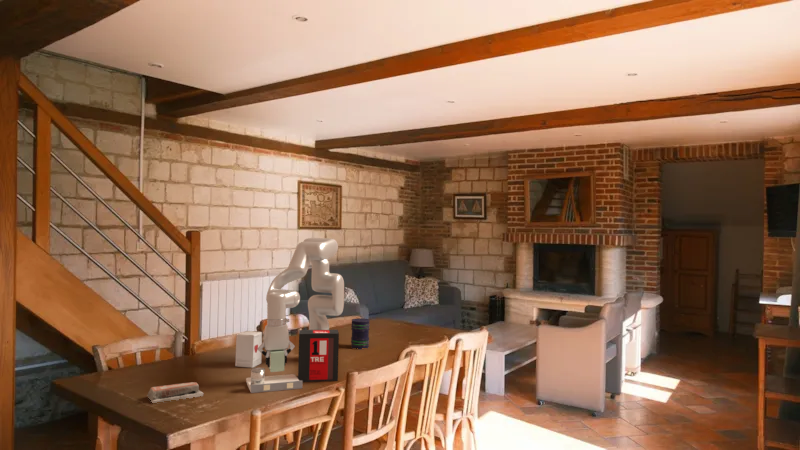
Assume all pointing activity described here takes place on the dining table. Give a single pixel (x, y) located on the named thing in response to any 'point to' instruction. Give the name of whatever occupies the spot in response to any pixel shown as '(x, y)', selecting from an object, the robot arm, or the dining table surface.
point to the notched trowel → (174, 392)
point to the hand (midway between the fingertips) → (276, 365)
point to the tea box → (277, 360)
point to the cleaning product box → (318, 355)
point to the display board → (276, 383)
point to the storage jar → (360, 333)
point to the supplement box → (248, 349)
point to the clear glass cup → (257, 376)
